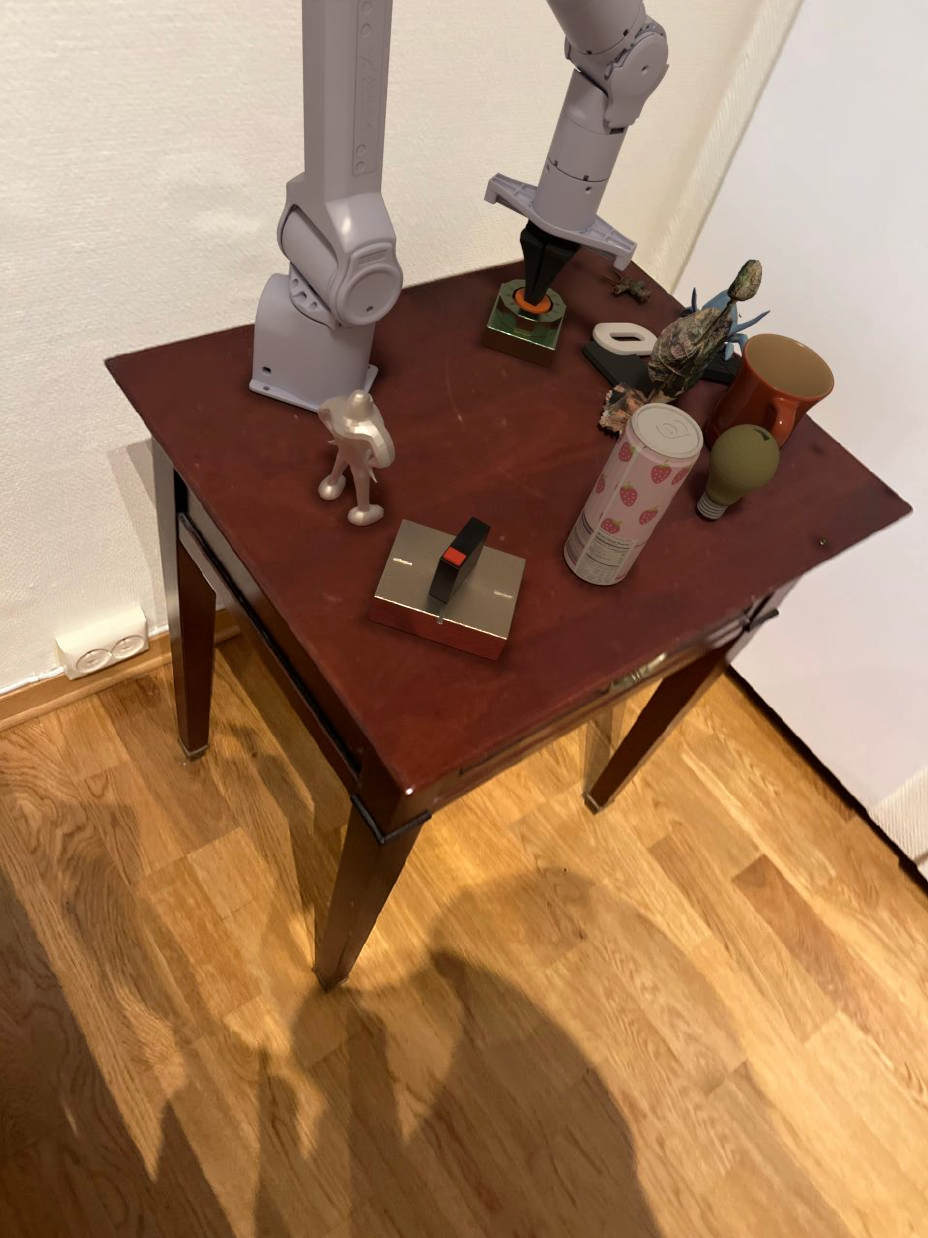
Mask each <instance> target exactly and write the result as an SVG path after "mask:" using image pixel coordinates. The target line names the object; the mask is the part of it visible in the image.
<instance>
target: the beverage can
mask: <svg viewBox="0 0 928 1238" xmlns="http://www.w3.org/2000/svg"><path fill="white" fill-rule="evenodd" d="M703 445H704V437H703V431H702V430H701V427H700V425H698V423H697V421H696V420H695V419H694V418H693V417H692V416H691V415H689V414H688V413H687V412H686V411H684V410H682V409H680V408H678V407H676V406H674V405H672V404H670V405H667V404H662V403H650V404H646V405H644V406H642V407H639V408H638V409H637V410H636V411H635V412H634V414H633V416H631V417H630V418H629V420H628V421H627V423H626V425H625V427H624V429H623V431H622V433H621V435H620V434H619V437H618V438H617V441H616V442H615V445H614V447H613V449H612V450H611V452H610V455H609V456H608V459H607V460H606V463H605V464H604V466H603V469H602V471H601V473H600V475H599V476H598V478H597V480H596V482H595V484H594V487H593V488H592V490H591V492H590V493H589V496H588V497H587V500H586V502H585V504H584V506H583V508H582V509H581V512H580V514H579V516H578V517H577V520H576V521H575V523H574V525H573V527H572V530H571V531H570V532H569V535H568V538H567V539H566V541H565V543H564V547H563V555H564V559H565V561H566V563H567V565H568V567H569V568H570V569H571V570H572V572H573V573H574V574H575V575H576V576H577V577H579V578H580V579H582V580H583V581H586V582H587V583H590V584H594V585H599V586H611V585H615V584H619V582H621V581H623V579H625V578H626V576H627V575H628V573H629V572H630V570H631V568H632V567H633V565H634V563H635V562H636V560H637V558H638V556H639V555H640V553H641V552H642V550H643V549H644V547H645V546H646V544H647V542H648V540H649V539H650V537H651V536H652V534H653V533H654V530H655V529H656V527H657V526H658V524H659V522H660V521H661V519H662V518H663V516H664V514H665V513H666V511H667V509H668V508H669V506H670V505H671V503H672V501H673V500H674V498H675V496H676V495H677V493H678V492H679V490H680V488H681V486H682V485H683V483H684V482H685V480H686V478H687V477H688V475H689V474H690V472H691V471H692V469H693V467H694V465H695V464H696V463H697V460H698V459H699V456H700V454H701V450H702V448H703Z"/></svg>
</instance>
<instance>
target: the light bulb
mask: <svg viewBox="0 0 928 1238" xmlns="http://www.w3.org/2000/svg"><path fill="white" fill-rule="evenodd" d="M710 450H711V449H710ZM779 464H780V452H779V448H778V445H777V442H776V440H775V439H774V438H773V436H772V435H771V434H770V433H769V432H768V431H766V430H765V429H763V428H761V427H759V426H756V425H750V424H745V425H738V426H735V427H733V428H730V429H728V430H727V431H725V432H724V433H723V434H722V435H721V436H720V437H719V438H718V439H717V440H716V442H715V444H714V446H713V447H712V450H711V451H710V454H709V461H708V471H709V472H708V478H707V481H706V484H705V489H704V492H703V493H702V495H701V496H700V499H699V500H698V501H697V504H696V506H697V509H698V511H699V513H700V514H701V515H702V516H703V517H704V518H707V519H711V520H717V519H720V518H721V517H722V516H723V514H724V513H725V511H726V510H727V509H728V507H729V506H731V505H733V504H735V503H736V502H738V501H739V500H740V499H741V498H743V497H744V496H745V495H748V494H751V493H753V492H755V491H757V490H759V489H761V488H763V487H764V486H765V485H766V484H767V483H769V482H770V480H771V479H772V478H773V477H774V476H775V474H776V472H777V469H778V467H779Z"/></svg>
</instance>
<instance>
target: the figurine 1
mask: <svg viewBox="0 0 928 1238" xmlns="http://www.w3.org/2000/svg"><path fill="white" fill-rule="evenodd" d="M317 417H318V419H319V420H320V421H321V422H322V423H323V425H324V426H325V427H326V429H327V430H328V431H329V432H330V434H331V435H332V437H333V440H329V441H328V440H327V443H328V444H329V445H334V446H337V448H338V452H337V453H336V458H335V462H334V465H333V469H332V471H331V473H330V474H328V475H327V476H326V477H324V478H323V479H322V481H321V482H320V484H319V486H318V488H317V492H318V495H319V497H320V498H321V499H322V500H324V501H334V500H337V499H338V498H339V497H340V496H341V495H342V493H343V491H344V489H345V487H346V483H347V477H345V475H344V474H343V473H344V471H345V470H347V467H348V466H349V468H350V471H351V474H352V477H353V483H354V486H355V492H356V502H357V506H354V507H352V508H351V509H350V510H349V511H348V514H347V516H346V517H347V521H348V522H349V523H350V524H352V525H355V526H358V527H366V526H369V525H371V524H374V523H376V522H377V521H379V520H381V519H382V518H384V514H385V513H384V512H385V509H384V507H382V506H381V505H379V504H371V503H370V483H371V479H372V480H373V481H374V483H375V484H376V483H377V484H378V481H377V478H376V475H375V474H374V469H373V468H376V469H384V468H385V469H386V468H389V466H391V465H392V463H393V462H394V461H395V459H396V451H395V445H394V441H393V439H392V436H391V434H390V432H389V431H388V430H387V428H386V427H385V420H384V418H383V416H382V415H381V412H380V410H379V408H378V407H377V405H376V403H374V399H373V397H372V395H371V394H370V393H367V392H366V391H364V390H355V391H354V392H353V393H352V394H351V395H350V397H346V396H339V397H334V398H330V399H327V400H326V401H325V402H324V403H323V404H322V405H321V406H320V407H319V409H318V413H317Z"/></svg>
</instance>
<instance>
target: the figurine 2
mask: <svg viewBox="0 0 928 1238" xmlns="http://www.w3.org/2000/svg"><path fill="white" fill-rule="evenodd" d="M728 289H729V288H727V289H724V290H722V291H720V292H719V293H717V294H716V295H715V296H714V297H712V298H711V299H709V300H708V301H707V302H705V304H703V305H702V306H701V309H699V308H698V305H697V301H698V299H697V298H698V297H697V295H698V294H697V288H696V287H695V286H694V287H693V289H692V293H691V301H690V302H691V303H690V304H691V305H689V306H687V307H685V308H683V309H682V310H681V311H680V312H679V314H683V315H690V314H693V313H695V312H696V311H699V310H704V309H707V308H712V307H716V308H718V309H721V310H724V309H725V308H726V307H727V303H728V301H729V300H730V297H728V294H727V291H728ZM770 313H771V310H766V311H764V312H762V313H759V315H757V316H756V317H754V318H752V319H749V320H748V321H745V322H742V323H738V321H739V316H738V315H739V312H738V307H737V302H736V303H735V304H734V306H733V307H732V309H731V312H730V314H729V315H730V316H731V317H732V319H733V320H734V321H733V323H732V326H731V330H730V332H729V334H728V337H727V339H726V341H725V342H724V344H723V345H722V347H721V348H720V350H719V351H718V353H717V354H716V356H714V358H713V359H712V361H711V362H710V363H709V365H708V366H707V367H706V369H705V371H704V374H703V376H702V377H701V378H706V379H711V380H715V381H720V382H725V383H728V384H729V385H730V384H731V382H732V381H733V379H734V377H735V375H736V373H737V370H738V367H739V364H740V360H741V358H739V357H738V356H733V354H734V352H735V345H734V344H738V346H739V350H740V353H741V355H742V351H743V347H744V345H745V343H746V341H747V340H748V339H749V337H748V335H747V334H745V333H741V332H742V331H744V330H746V329H748V328H750V327H752V326H754V325H756V324H757V323H758V322H760V321H761V320H762V319H763V318H764V317H766V316H767V315H768V314H770ZM680 318H683V317H681V316H680V317H677V318H676V320H678V319H680ZM732 356H733V357H732Z"/></svg>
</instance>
